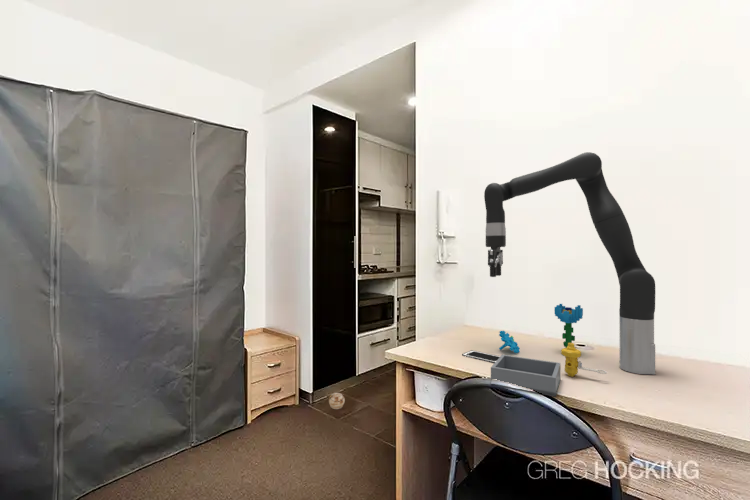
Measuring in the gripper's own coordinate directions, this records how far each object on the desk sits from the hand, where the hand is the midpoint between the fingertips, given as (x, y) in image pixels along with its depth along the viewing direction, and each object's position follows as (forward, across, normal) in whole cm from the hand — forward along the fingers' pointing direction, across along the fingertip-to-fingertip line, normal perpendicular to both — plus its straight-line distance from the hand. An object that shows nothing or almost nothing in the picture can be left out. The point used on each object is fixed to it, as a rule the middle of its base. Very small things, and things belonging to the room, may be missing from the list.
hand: (495, 276), depth 142 cm
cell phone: (+30, -13, +1) cm, 32 cm away
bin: (+29, -31, -16) cm, 45 cm away
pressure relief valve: (+29, -18, -30) cm, 46 cm away
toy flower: (+29, +10, -25) cm, 39 cm away
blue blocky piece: (+30, 0, -7) cm, 31 cm away
